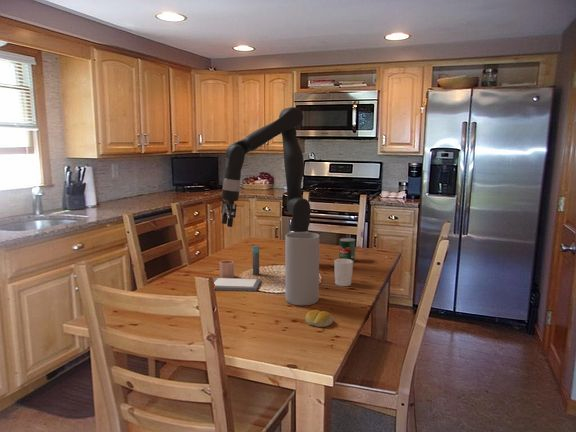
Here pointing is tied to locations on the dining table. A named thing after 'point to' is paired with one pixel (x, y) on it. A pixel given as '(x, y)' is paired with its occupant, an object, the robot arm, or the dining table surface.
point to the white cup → (343, 271)
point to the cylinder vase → (302, 268)
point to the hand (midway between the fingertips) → (226, 225)
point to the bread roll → (319, 318)
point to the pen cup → (226, 269)
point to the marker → (255, 260)
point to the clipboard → (236, 284)
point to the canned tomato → (347, 249)
